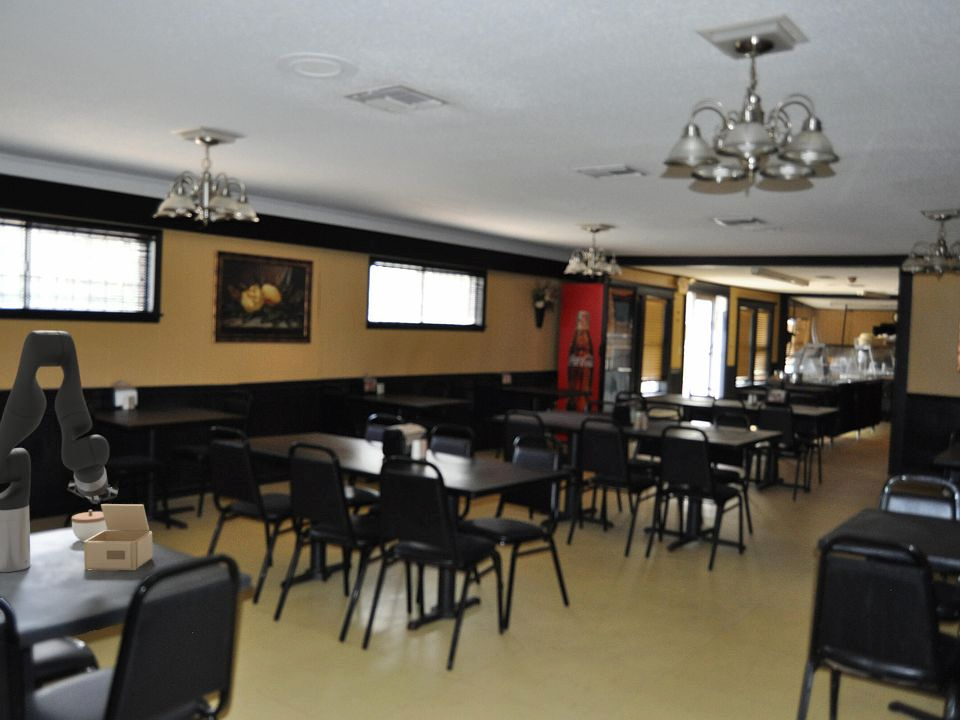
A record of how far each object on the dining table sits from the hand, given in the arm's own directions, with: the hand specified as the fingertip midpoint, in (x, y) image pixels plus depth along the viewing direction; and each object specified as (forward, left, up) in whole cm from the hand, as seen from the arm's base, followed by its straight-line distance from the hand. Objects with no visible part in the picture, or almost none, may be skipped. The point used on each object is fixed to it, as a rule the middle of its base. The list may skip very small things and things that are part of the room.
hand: (95, 500), depth 236 cm
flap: (-4, +13, -12) cm, 18 cm away
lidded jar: (-31, +20, -20) cm, 42 cm away
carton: (-1, +8, -20) cm, 21 cm away
